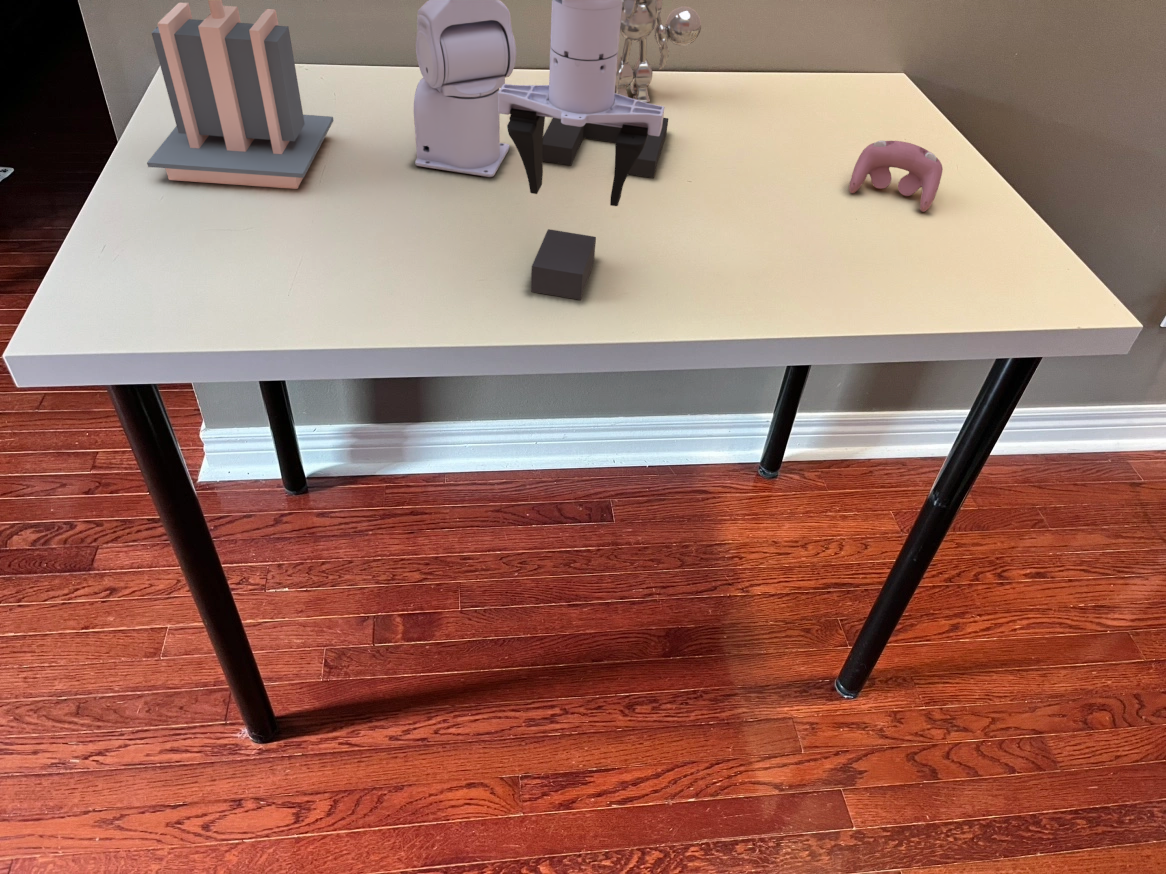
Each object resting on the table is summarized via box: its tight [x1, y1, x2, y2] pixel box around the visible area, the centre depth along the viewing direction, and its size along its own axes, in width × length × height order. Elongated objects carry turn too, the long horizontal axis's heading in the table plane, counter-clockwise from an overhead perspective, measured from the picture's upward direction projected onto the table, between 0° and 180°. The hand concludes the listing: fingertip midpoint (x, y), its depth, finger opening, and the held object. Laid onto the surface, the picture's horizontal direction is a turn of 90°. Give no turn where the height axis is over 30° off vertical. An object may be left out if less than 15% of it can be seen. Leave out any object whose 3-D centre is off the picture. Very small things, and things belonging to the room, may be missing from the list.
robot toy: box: [615, 0, 702, 103], centre depth 116 cm, size 15×6×15 cm, turn 105°
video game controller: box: [848, 140, 943, 213], centre depth 104 cm, size 10×5×7 cm, turn 65°
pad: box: [530, 228, 597, 301], centre depth 88 cm, size 5×7×3 cm
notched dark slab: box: [542, 117, 669, 179], centre depth 109 cm, size 14×12×2 cm
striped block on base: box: [146, 0, 335, 190], centre depth 90 cm, size 18×14×33 cm
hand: (575, 194), depth 83 cm, fingers open, 7 cm apart
